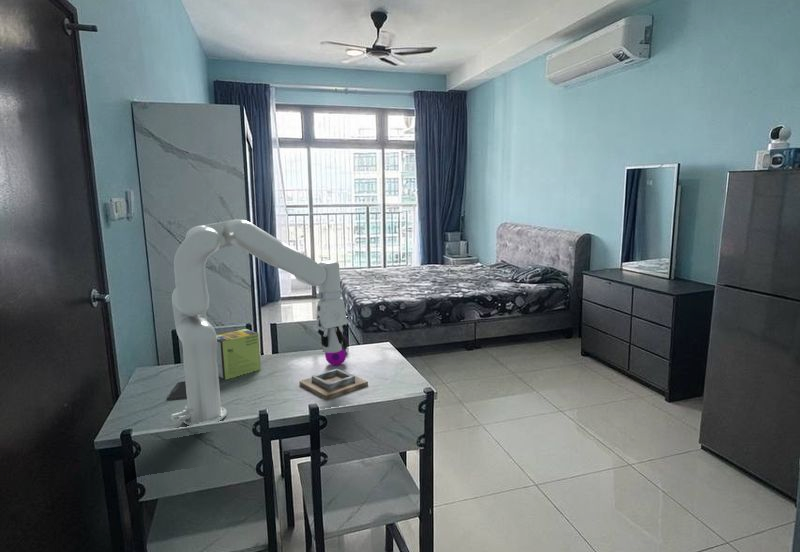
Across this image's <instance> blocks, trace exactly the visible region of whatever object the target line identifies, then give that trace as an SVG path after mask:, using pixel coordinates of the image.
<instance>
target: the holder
mask: <svg viewBox="0 0 800 552" xmlns="http://www.w3.org/2000/svg"><path fill="white" fill-rule="evenodd" d="M298 384H299V386H300V387H302V388H304V389H305V390H307V391H309V392H312V393H313V394H315V395H317V396H318V397H320V398H322V399H324V400H325V401H328V400H330V399H333V398H335V397H338V396H341V395H344V394H347V393H351V392H353V391H356V390H359V389H362V388H365V387H367V386H369V382H368V380H365V379H363V378H361V377H359V376H356V375H354V374H352V373H350V372H347V371H345V370H343V369H341V368H334V369H330V370H327V371H324V372H320V373H317V374H313V375H312V376H311V377H309V378H306V379H302V380H299V383H298Z"/></svg>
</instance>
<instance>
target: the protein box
mask: <svg viewBox="0 0 800 552" xmlns="http://www.w3.org/2000/svg"><path fill="white" fill-rule="evenodd" d="M216 335H217V365H218V377H219V378H220V379H222V380H225V381H227V380H230V378H231V379H234V378H236V377H237V376H238V377H241V376H244V375H243V374H245V375H247V373H248V374H251V373H254V372H253V371H255V372H258V371H261V370H262V367H261V366H262V365H261V354H260V353H261V352H260V337H259V332H257V331H253V330H250V329H248V328H243V329H239V330H235V331H230V332H225V333H222V334H216ZM260 369H261V370H260ZM257 370H258V371H257ZM250 372H251V373H250ZM240 375H241V376H240Z"/></svg>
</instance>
